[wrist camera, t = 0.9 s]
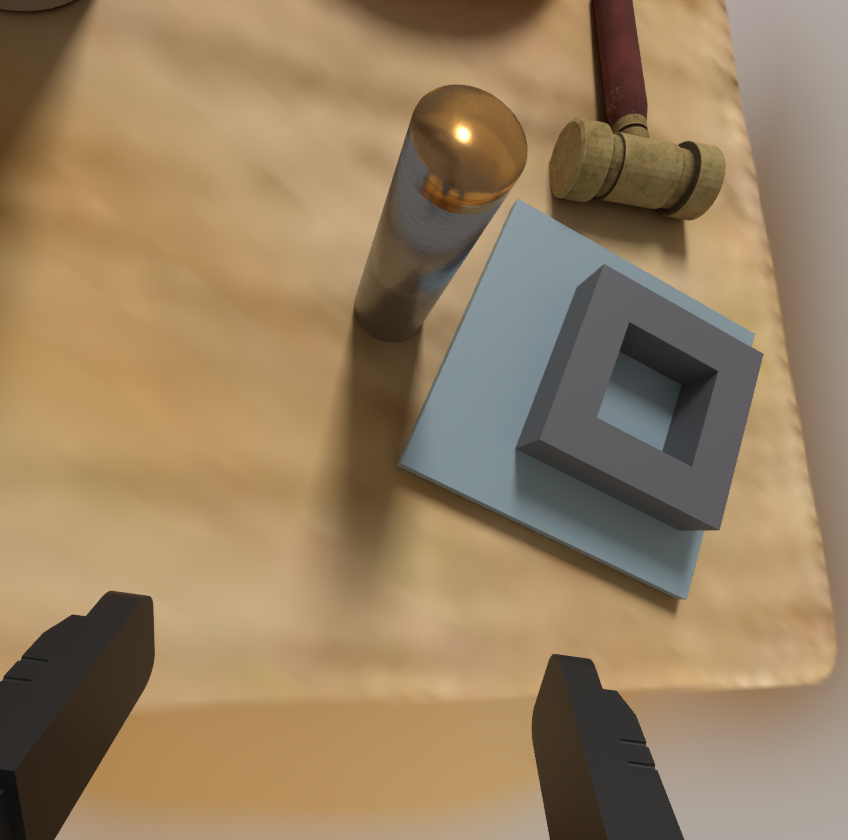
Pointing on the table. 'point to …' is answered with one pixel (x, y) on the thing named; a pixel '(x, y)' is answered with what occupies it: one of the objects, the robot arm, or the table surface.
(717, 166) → the gavel
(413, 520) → the table surface
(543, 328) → the dock
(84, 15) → the table surface
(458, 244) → the chrome cylinder
